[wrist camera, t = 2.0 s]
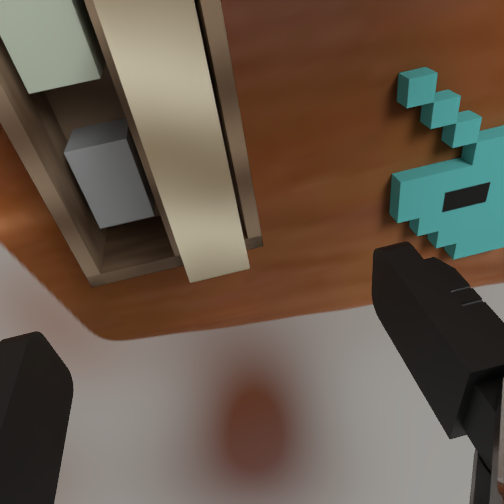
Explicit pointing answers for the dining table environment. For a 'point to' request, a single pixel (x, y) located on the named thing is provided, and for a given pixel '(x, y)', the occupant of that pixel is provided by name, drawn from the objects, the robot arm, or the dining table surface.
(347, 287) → the dining table surface
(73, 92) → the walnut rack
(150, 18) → the birch panel
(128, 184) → the grey offcut
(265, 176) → the dining table surface
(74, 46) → the sage offcut
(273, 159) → the dining table surface
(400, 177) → the alien figure
